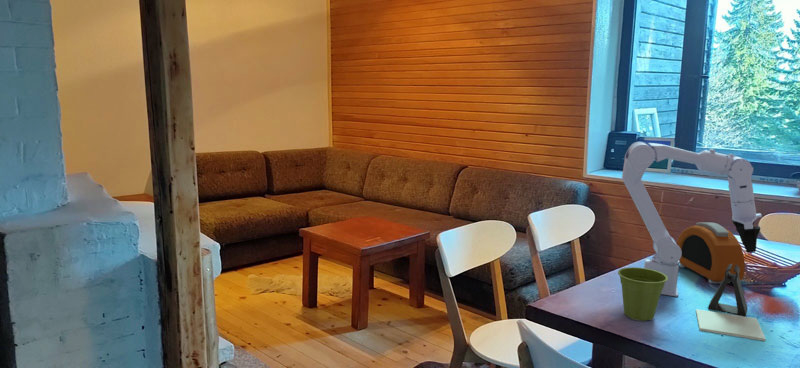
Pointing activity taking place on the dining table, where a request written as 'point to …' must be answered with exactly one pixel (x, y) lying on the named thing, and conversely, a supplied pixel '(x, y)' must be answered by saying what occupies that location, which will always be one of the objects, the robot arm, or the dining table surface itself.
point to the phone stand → (739, 295)
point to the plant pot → (641, 291)
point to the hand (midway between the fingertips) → (749, 247)
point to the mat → (729, 324)
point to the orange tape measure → (710, 251)
